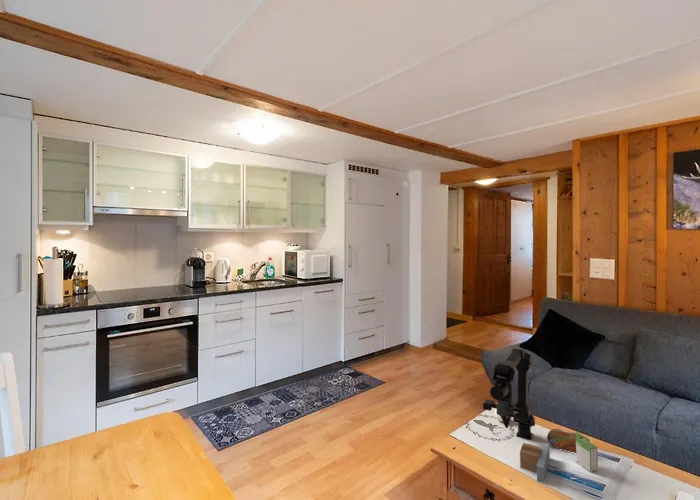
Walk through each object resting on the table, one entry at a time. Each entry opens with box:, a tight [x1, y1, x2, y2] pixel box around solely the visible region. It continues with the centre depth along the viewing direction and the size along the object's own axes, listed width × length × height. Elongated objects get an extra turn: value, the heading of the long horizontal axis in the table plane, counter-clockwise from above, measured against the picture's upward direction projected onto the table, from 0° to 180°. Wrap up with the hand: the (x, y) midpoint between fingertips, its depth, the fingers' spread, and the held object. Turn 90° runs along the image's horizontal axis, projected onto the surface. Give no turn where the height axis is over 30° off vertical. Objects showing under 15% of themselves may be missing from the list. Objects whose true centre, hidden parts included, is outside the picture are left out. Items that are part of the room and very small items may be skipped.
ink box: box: [575, 431, 599, 472], centre depth 151 cm, size 7×4×13 cm, turn 12°
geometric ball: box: [494, 409, 503, 423], centre depth 192 cm, size 8×8×8 cm
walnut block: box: [519, 442, 542, 474], centre depth 152 cm, size 8×7×7 cm
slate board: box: [536, 442, 551, 484], centre depth 150 cm, size 20×2×6 cm, turn 145°
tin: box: [546, 428, 584, 454], centre depth 163 cm, size 15×3×8 cm, turn 53°
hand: (506, 427), depth 160 cm, fingers closed
